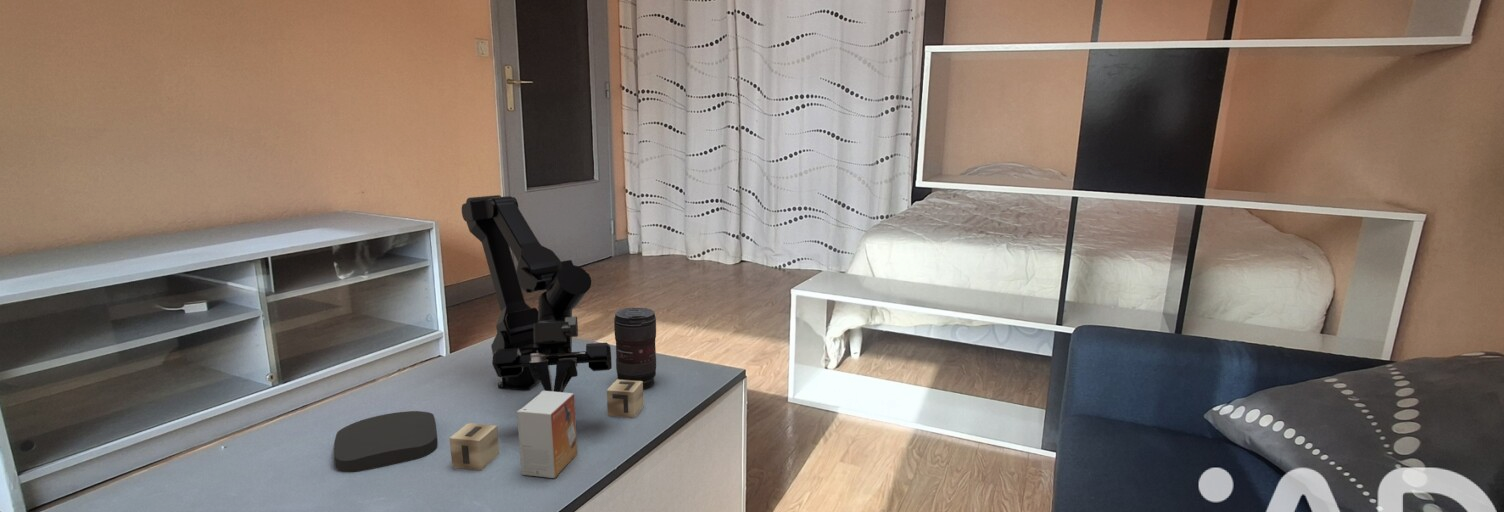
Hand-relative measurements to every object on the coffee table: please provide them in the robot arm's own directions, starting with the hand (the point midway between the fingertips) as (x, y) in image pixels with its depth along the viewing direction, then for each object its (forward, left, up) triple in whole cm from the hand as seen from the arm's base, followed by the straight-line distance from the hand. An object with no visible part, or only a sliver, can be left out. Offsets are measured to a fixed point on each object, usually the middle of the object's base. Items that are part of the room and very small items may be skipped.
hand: (552, 408), depth 110 cm
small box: (+2, -5, -7) cm, 9 cm away
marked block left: (-10, -6, -7) cm, 14 cm away
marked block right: (+7, +15, -7) cm, 18 cm away
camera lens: (+5, +27, -7) cm, 28 cm away
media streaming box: (-27, -4, -7) cm, 29 cm away
